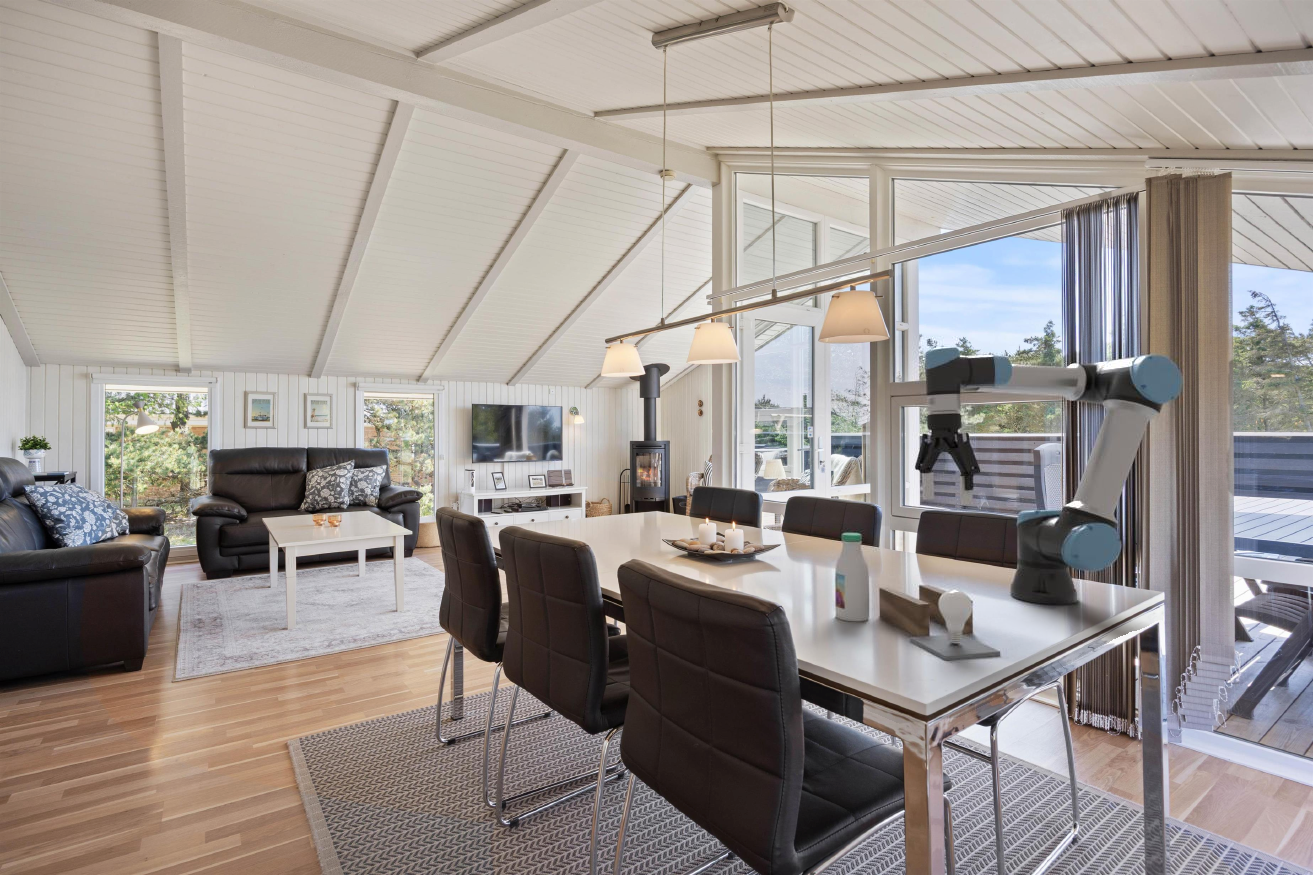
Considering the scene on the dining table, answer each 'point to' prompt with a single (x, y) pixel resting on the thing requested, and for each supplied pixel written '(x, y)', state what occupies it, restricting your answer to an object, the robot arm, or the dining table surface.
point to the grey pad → (954, 647)
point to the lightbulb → (955, 613)
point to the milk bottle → (852, 581)
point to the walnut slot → (915, 610)
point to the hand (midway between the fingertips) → (946, 501)
